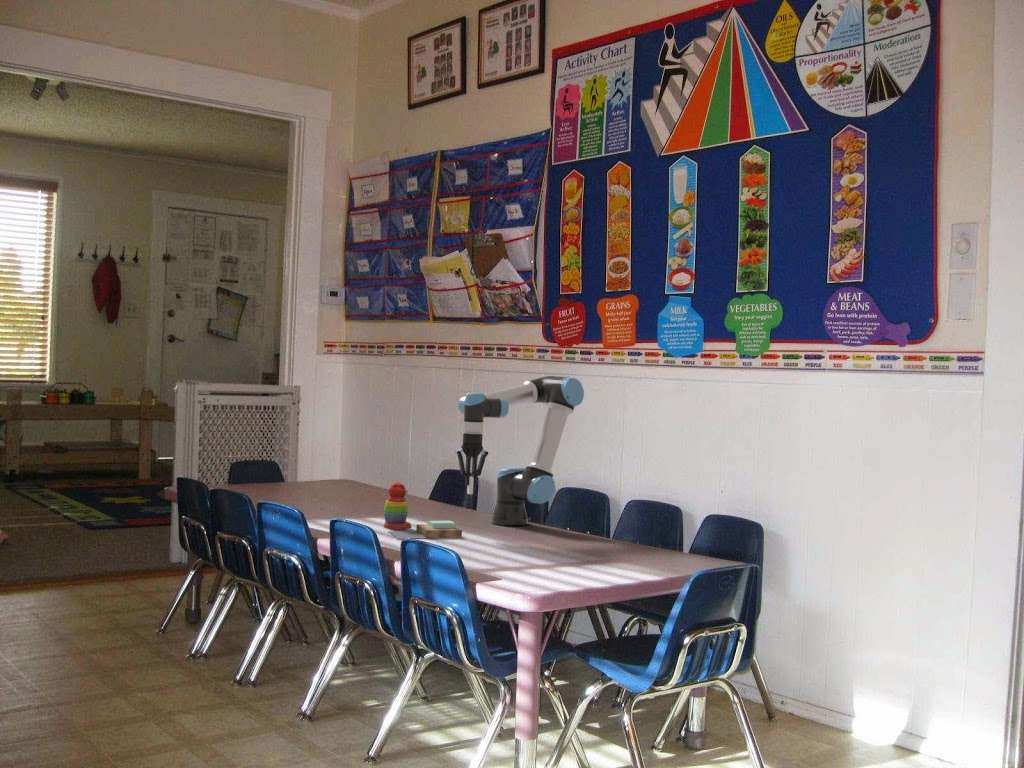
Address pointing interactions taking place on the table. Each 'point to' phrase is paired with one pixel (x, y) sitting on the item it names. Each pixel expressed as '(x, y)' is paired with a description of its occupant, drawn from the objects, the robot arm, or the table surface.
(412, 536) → the mat
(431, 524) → the mint green block
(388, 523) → the stacking bear
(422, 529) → the tan flat square slab
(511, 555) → the table surface
